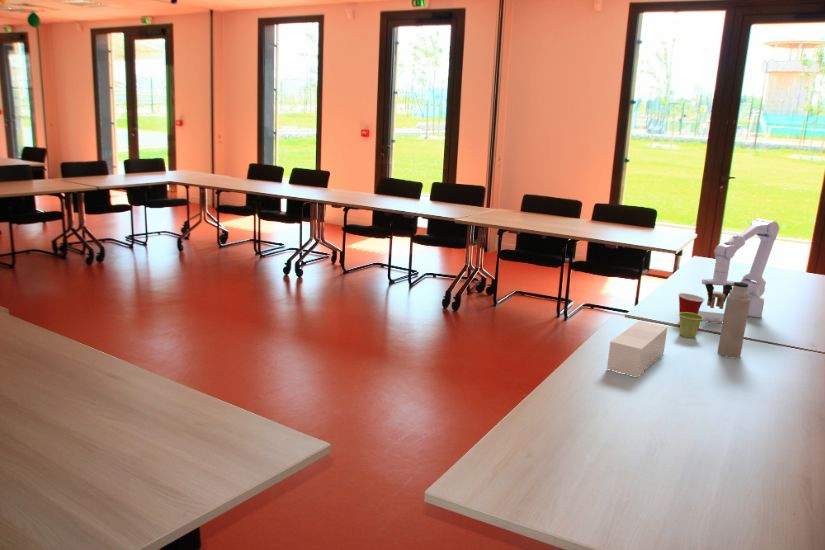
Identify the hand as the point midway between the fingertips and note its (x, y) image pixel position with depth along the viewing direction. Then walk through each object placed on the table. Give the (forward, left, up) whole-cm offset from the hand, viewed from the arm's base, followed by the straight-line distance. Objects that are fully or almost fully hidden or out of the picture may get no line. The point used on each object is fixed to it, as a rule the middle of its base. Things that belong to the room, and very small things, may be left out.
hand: (716, 300), depth 308 cm
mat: (0, 0, -8) cm, 8 cm away
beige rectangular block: (+40, +71, -8) cm, 82 cm away
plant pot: (+16, +32, -8) cm, 37 cm away
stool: (0, 0, -3) cm, 3 cm away
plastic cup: (+13, +12, -8) cm, 19 cm away
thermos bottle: (+4, +50, -8) cm, 51 cm away
